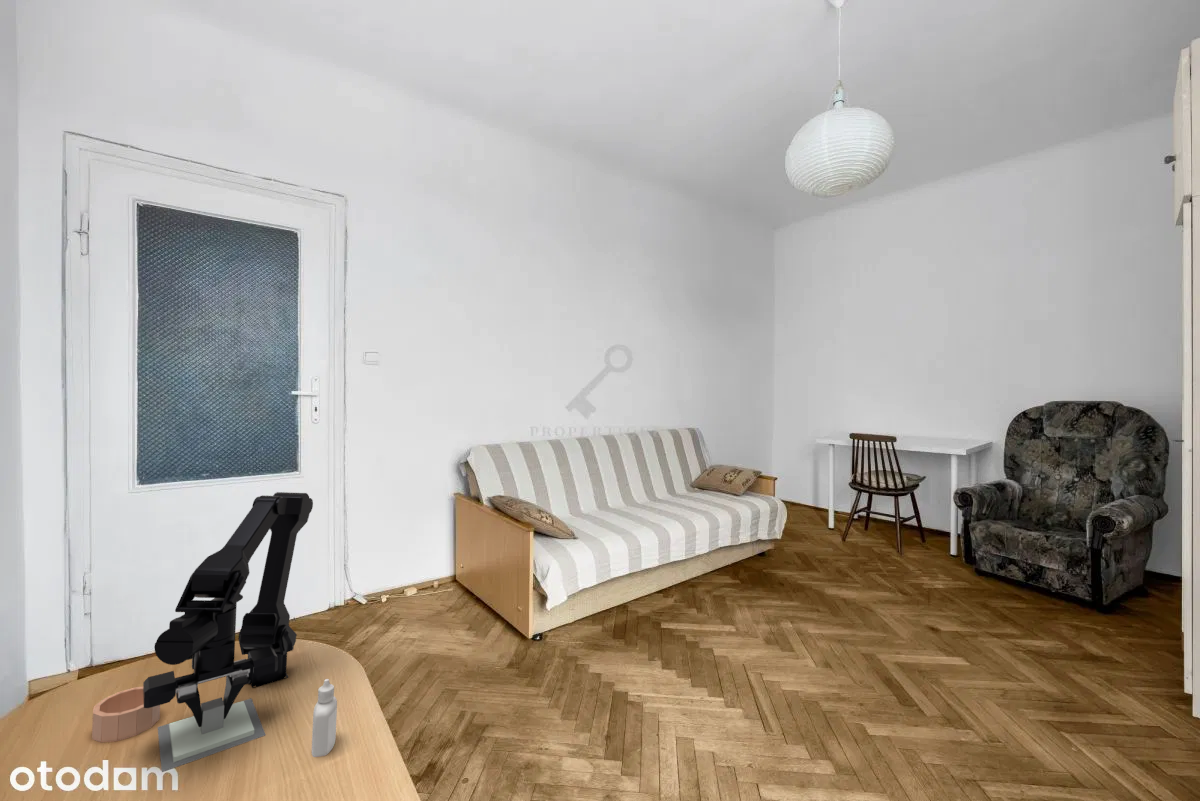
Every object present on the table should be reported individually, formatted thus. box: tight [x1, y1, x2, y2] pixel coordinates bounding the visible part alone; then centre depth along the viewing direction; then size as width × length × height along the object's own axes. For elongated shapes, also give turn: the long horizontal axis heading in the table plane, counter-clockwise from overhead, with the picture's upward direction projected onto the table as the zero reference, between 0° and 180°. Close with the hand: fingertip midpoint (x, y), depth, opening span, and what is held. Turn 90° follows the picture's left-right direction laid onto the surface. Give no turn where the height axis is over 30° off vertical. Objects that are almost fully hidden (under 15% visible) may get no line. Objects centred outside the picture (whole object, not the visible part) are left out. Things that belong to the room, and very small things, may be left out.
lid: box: [168, 697, 254, 762], centre depth 91 cm, size 11×11×5 cm
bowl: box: [91, 686, 161, 743], centre depth 91 cm, size 9×9×5 cm
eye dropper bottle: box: [311, 678, 338, 758], centre depth 89 cm, size 4×6×12 cm
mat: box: [157, 698, 267, 773], centre depth 91 cm, size 14×14×1 cm
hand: (211, 722), depth 91 cm, fingers closed on lid, 3 cm apart
